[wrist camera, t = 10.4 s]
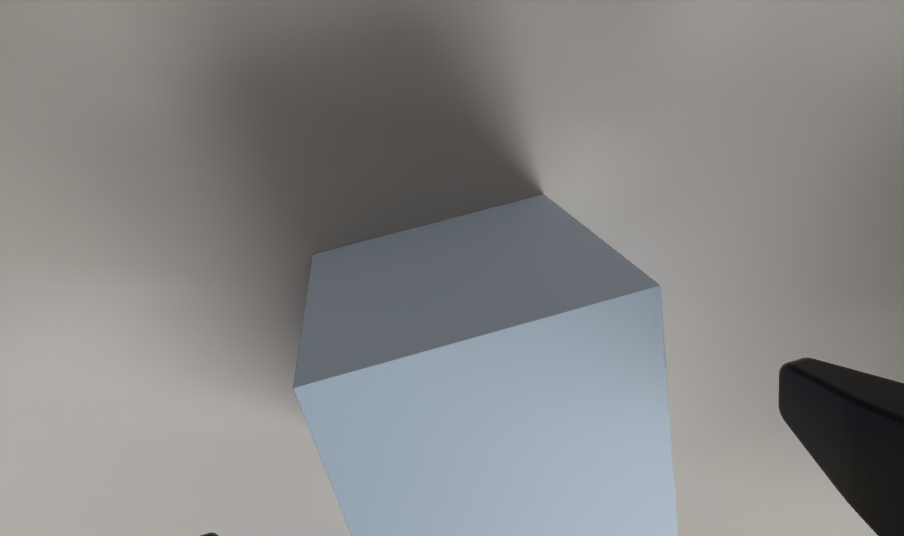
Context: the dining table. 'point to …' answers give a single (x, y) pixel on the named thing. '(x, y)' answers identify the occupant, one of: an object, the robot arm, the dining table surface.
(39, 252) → the dining table surface
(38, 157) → the dining table surface
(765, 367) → the dining table surface
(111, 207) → the dining table surface
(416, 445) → the slate cube
